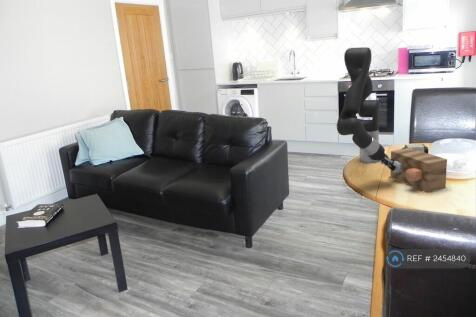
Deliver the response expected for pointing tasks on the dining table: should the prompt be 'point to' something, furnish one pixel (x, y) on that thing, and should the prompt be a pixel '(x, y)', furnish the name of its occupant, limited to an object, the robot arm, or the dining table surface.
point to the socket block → (428, 163)
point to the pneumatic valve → (417, 147)
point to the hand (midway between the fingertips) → (393, 168)
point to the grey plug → (398, 166)
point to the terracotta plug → (413, 174)
